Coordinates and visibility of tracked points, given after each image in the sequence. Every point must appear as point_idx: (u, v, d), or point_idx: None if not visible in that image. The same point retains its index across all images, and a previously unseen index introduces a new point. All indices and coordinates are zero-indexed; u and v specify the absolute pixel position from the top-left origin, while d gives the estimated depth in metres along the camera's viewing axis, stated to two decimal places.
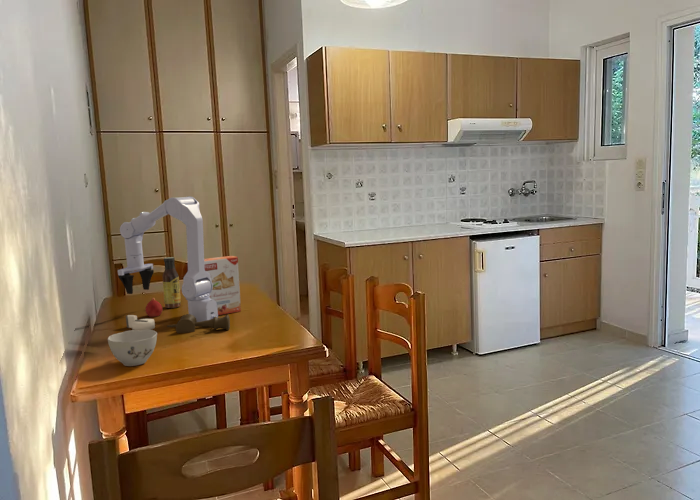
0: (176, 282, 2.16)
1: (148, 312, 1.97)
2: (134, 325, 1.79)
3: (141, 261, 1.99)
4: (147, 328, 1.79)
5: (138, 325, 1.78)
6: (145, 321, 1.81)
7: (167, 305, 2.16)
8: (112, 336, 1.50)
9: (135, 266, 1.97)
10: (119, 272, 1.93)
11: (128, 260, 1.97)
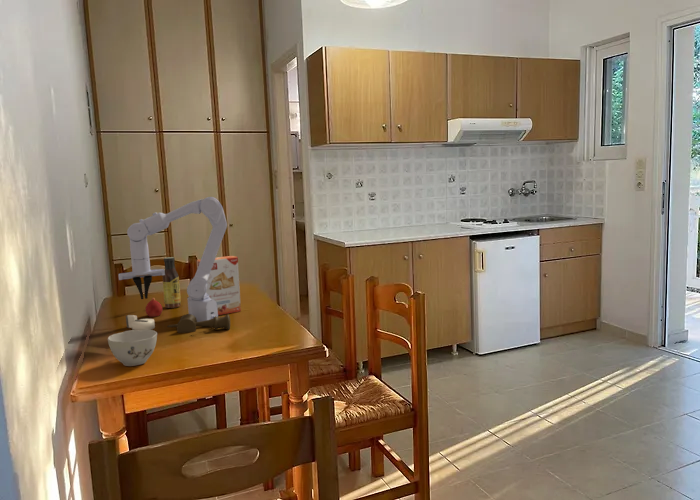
0: (176, 282, 2.16)
1: (148, 312, 1.97)
2: (134, 325, 1.79)
3: (142, 266, 1.82)
4: (147, 328, 1.79)
5: (138, 325, 1.78)
6: (145, 321, 1.81)
7: (167, 305, 2.16)
8: (112, 336, 1.50)
9: (135, 271, 1.82)
10: None
11: None
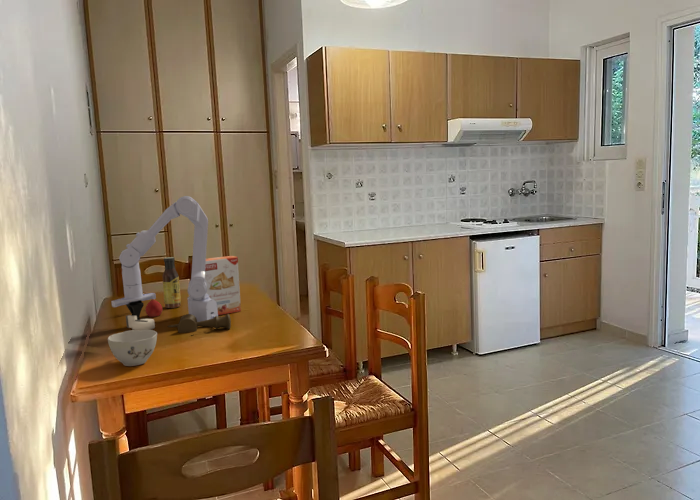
0: (176, 282, 2.16)
1: (148, 312, 1.97)
2: (134, 325, 1.79)
3: (138, 291, 1.82)
4: (147, 328, 1.79)
5: (138, 325, 1.78)
6: (145, 321, 1.81)
7: (167, 305, 2.16)
8: (112, 336, 1.50)
9: (131, 297, 1.81)
10: (112, 304, 1.79)
11: (124, 290, 1.82)
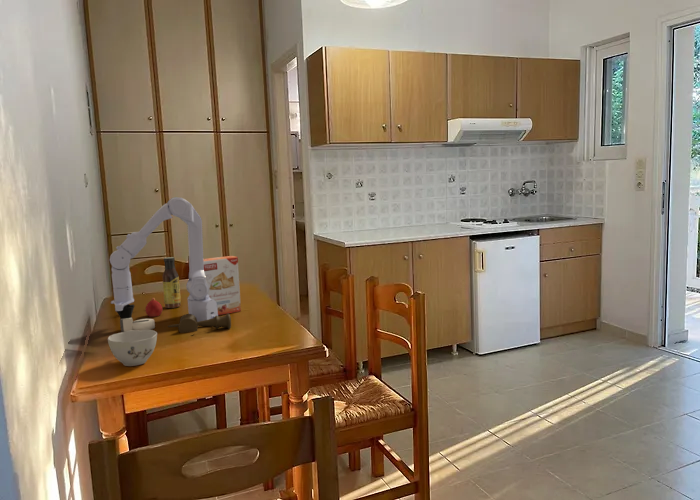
0: (176, 282, 2.16)
1: (148, 312, 1.97)
2: (142, 325, 1.78)
3: (132, 293, 1.81)
4: (153, 326, 1.81)
5: (147, 324, 1.79)
6: (147, 320, 1.82)
7: (167, 305, 2.16)
8: (112, 336, 1.50)
9: (129, 299, 1.78)
10: (118, 308, 1.73)
11: (120, 293, 1.77)
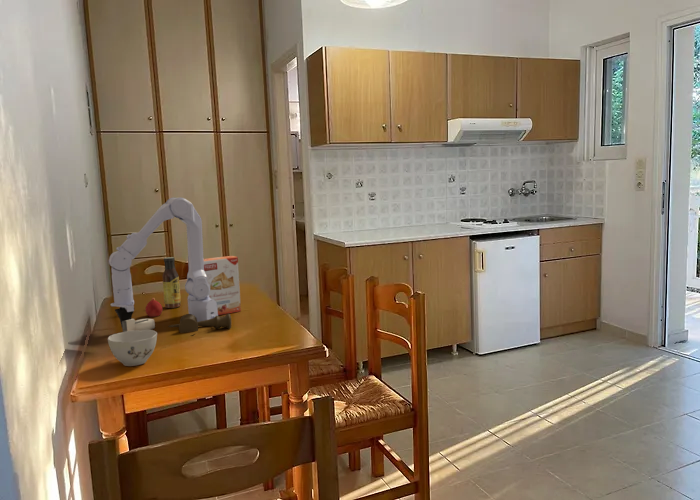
0: (176, 282, 2.16)
1: (148, 312, 1.97)
2: (148, 324, 1.79)
3: None
4: (154, 324, 1.83)
5: (152, 323, 1.80)
6: (147, 320, 1.82)
7: (167, 305, 2.16)
8: (112, 336, 1.50)
9: (132, 300, 1.77)
10: (130, 308, 1.72)
11: (124, 294, 1.75)
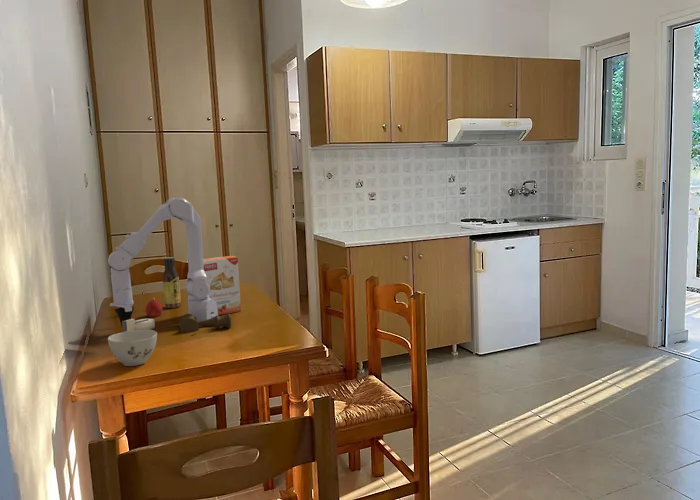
0: (176, 282, 2.16)
1: (148, 312, 1.97)
2: (148, 324, 1.79)
3: None
4: (154, 324, 1.83)
5: (152, 323, 1.80)
6: (147, 320, 1.82)
7: (167, 305, 2.16)
8: (112, 336, 1.50)
9: (131, 300, 1.77)
10: (128, 308, 1.72)
11: (123, 294, 1.75)
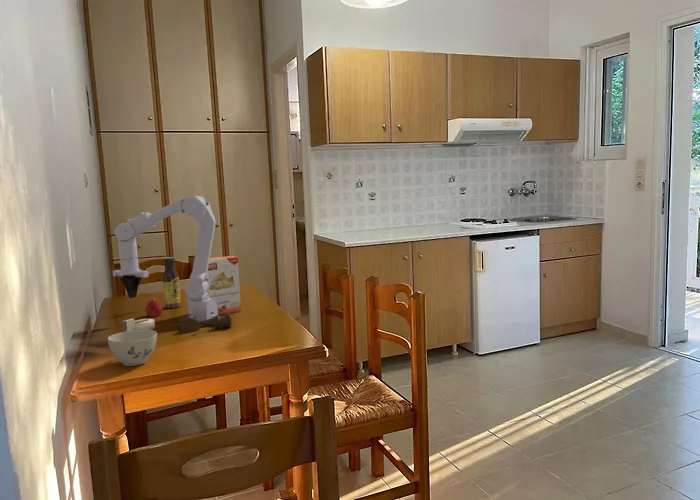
0: (176, 282, 2.16)
1: (148, 312, 1.97)
2: (148, 324, 1.79)
3: (123, 266, 1.85)
4: (154, 324, 1.83)
5: (152, 323, 1.80)
6: (147, 320, 1.82)
7: (167, 305, 2.16)
8: (112, 336, 1.50)
9: (121, 270, 1.87)
10: None
11: None
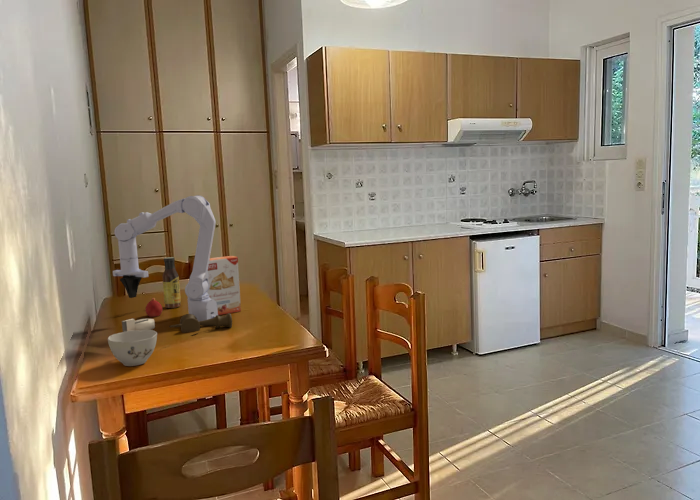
0: (176, 282, 2.16)
1: (148, 312, 1.97)
2: (148, 324, 1.79)
3: (123, 266, 1.85)
4: (154, 324, 1.83)
5: (152, 323, 1.80)
6: (147, 320, 1.82)
7: (167, 305, 2.16)
8: (112, 336, 1.50)
9: (121, 270, 1.87)
10: None
11: None
